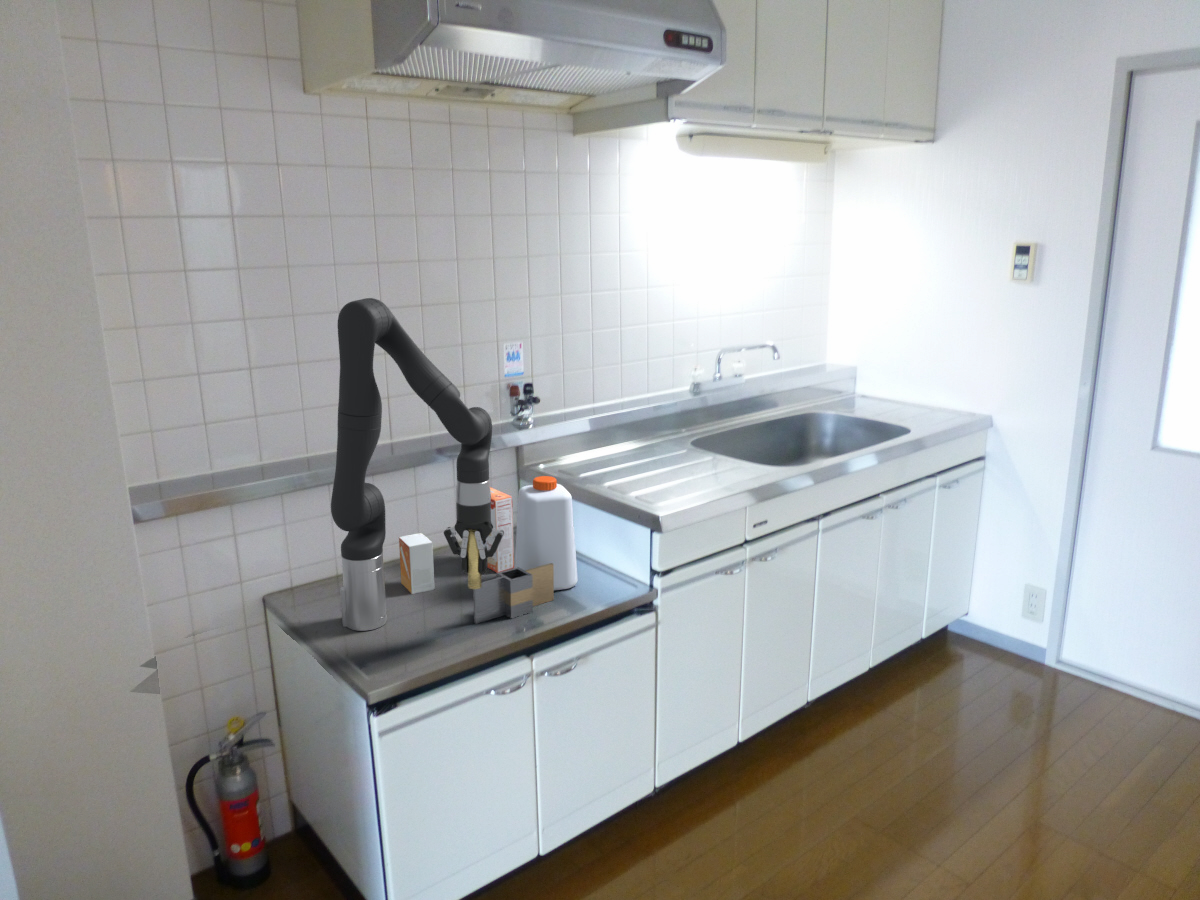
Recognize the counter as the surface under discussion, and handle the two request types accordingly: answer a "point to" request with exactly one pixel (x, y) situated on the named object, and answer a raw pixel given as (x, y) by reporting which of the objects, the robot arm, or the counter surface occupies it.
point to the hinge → (513, 593)
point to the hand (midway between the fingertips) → (474, 572)
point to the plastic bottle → (546, 530)
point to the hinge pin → (473, 562)
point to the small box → (416, 563)
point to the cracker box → (503, 521)
